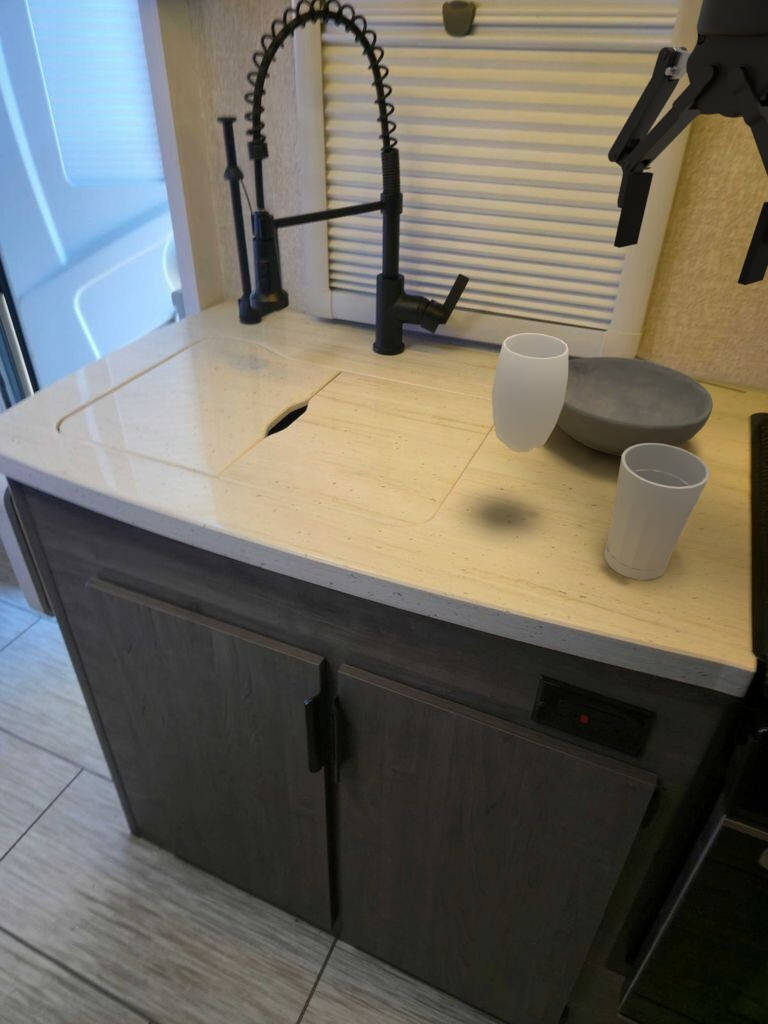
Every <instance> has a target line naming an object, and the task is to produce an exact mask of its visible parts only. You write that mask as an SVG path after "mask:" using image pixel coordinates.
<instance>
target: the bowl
mask: <svg viewBox="0 0 768 1024" xmlns="http://www.w3.org/2000/svg"><path fill="white" fill-rule="evenodd" d="M713 408H714V402H713V398H712V395H711V394H710V392H709V391H708V389H707V388H706V387H705V386H704V385H702V384H701V383H700V382H699V381H698V380H696V379H694V378H693V377H691V376H689V375H687V374H685V373H683V372H681V371H679V370H676V369H673V368H671V367H669V366H667V365H663V364H659V363H657V362H654V361H650V360H643V359H638V358H632V357H621V356H596V357H595V356H594V357H592V356H591V357H580V358H573V359H568V380H567V387H566V393H565V400H564V404H563V407H562V410H561V412H560V415H559V418H558V420H557V423H556V425H558V426H559V427H560V428H561V430H562V431H564V433H566V434H567V435H568V436H570V437H571V438H573V439H574V440H575V441H577V442H579V443H581V444H582V445H584V446H587V447H589V448H591V449H593V450H596V451H599V452H602V453H605V454H609V455H614V456H621V457H622V454H623V452H624V451H625V450H626V449H628V448H629V447H631V446H634V445H637V444H643V443H659V444H666V445H671V446H675V447H678V448H679V447H680V446H682V445H684V444H685V443H687V442H688V441H689V440H691V439H692V438H694V436H696V435H697V434H698V433H699V432H700V431H701V430H702V429H703V428H704V427H705V425H706V423H707V422H708V421H709V418H710V416H711V414H712V411H713Z"/></svg>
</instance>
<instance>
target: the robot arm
mask: <svg viewBox="0 0 768 1024" xmlns="http://www.w3.org/2000/svg"><path fill="white" fill-rule="evenodd" d="M696 32H697V40H696V43H695V46H694V47H693V49H692V51H688V49H687V47H685V46H664V47H663V48H661V49H660V50H659V52H658V55H657V58H656V61H655V65H654V68H653V70H652V71H653V72H652V75H651V78H650V79H649V81H648V83H647V85H646V86H645V88H644V90H643V91H642V92H641V96H640V97H639V99H638V100H637V102H636V103H635V105H634V107H633V109H632V111H631V113H629V116H628V118H627V119H626V121H625V123H624V124H623V127H622V128H621V129H620V132H619V133H618V135H617V137H616V139H615V140H614V142H613V143H612V145H611V147H610V149H609V151H608V153H607V159H608V161H609V162H610V163H615V164H617V165H618V166H619V167H620V168H621V170H622V176H621V180H620V186H619V191H618V196H617V199H616V200H617V202H616V205H617V208H618V209H620V214H619V219H618V222H617V227H616V233H615V236H614V237H615V238H614V242H613V243H614V244H613V247H615V248H619V249H621V248H625V247H626V248H627V247H630V246H634V245H635V246H636V245H638V242H639V238H640V235H641V229H642V226H643V225H642V224H643V220H644V216H645V212H646V207H647V203H648V199H649V195H650V191H651V186H652V182H653V178H654V172H650V171H648V170H650V169H652V167H651V166H650V165H651V164H652V163H653V162H654V161H655V160H656V159H657V158H658V157H659V156H660V155H661V154H662V153H663V152H664V151H665V150H666V148H667V147H669V145H670V144H671V143H672V142H674V141H675V139H676V138H677V137H678V136H679V135H680V134H681V133H682V132H683V131H684V130H685V129H686V128H687V127H688V126H689V125H690V124H691V123H692V122H693V121H694V120H695V119H696V118H697V117H698V116H700V115H707V116H709V115H710V116H712V115H720V116H723V117H724V118H731V119H735V118H742V119H743V122H744V123H745V125H746V126H748V127H749V129H750V131H751V134H752V137H753V140H754V142H755V145H756V147H757V150H758V154H759V156H760V159H761V162H762V164H763V167H764V170H765V173H766V176H767V177H768V0H702V2H701V6H700V10H699V14H698V19H697V24H696ZM685 75H687V78H688V82H689V84H688V85H687V87H685V89H684V90H683V91H682V92H681V93H680V94H679V95H678V97H677V98H676V99H674V101H673V102H672V104H671V108H670V109H669V110H668V111H667V113H665V115H663V116H662V118H661V119H660V120H659V121H658V122H657V123H656V124H655V122H656V121H657V119H658V118H659V116H660V114H661V113H662V111H663V109H664V108H665V106H666V104H667V103H668V102H669V99H670V98H671V96H672V94H673V93H674V91H675V89H676V87H677V86H678V84H679V83H680V79H682V78H683V77H684V76H685ZM654 124H655V125H654ZM742 264H743V265H742V267H741V269H740V270H741V271H740V273H739V277H738V279H737V284H738V285H743V286H749V285H751V284H755V283H759V282H761V281H764V278H765V275H766V273H767V269H768V201H764V202H763V203H762V207H761V210H760V213H759V216H758V217H757V221H756V225H755V228H754V231H753V234H752V237H751V239H750V243H749V247H748V249H747V253H746V255H745V258H744V261H743V263H742Z"/></svg>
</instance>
